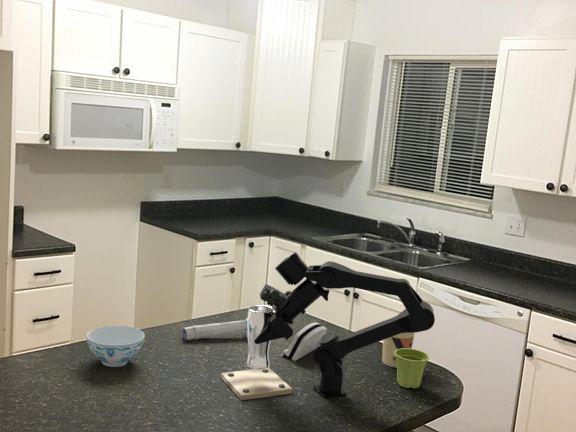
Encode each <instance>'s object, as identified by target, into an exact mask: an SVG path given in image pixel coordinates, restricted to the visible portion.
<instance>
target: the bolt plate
mask: <svg viewBox="0 0 576 432" xmlns="http://www.w3.org/2000/svg"><path fill="white" fill-rule="evenodd" d="M220 378H221V380H222V381H223V382H224V383H225V384H226V385H227V386H228V388H230V389H231V390H232V392H233V393H234V394H235V395H236V396H237V397H238V398H239V399H240V400H241V401H247V400H253V399H260V398H266V397H268V398H269V397H275V396H282V395H289V394H293V388H292V386H290V385H289V384H288V383H287V382H285V381H284V380H283V378H281V377H280V376H279V375H278V374H277V373H275V371H274V370H272V369H271V368H270V367H268V368H266V369H253V368H251V369H244V370H236V371H228V372H221V373H220Z"/></svg>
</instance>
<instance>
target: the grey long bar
mask: <svg viewBox="0 0 576 432" xmlns="http://www.w3.org/2000/svg"><path fill="white" fill-rule="evenodd" d="M247 319H248V317H247V318H245V319H243V320H235V321H224V322H216V323H206V324H199V325H195V324H193V325H192V326H186V327H182V328H181V335H182V339H183V340H184V341H185V342H186V341H193V340H195V341H197V340H198V339H204V338H209V337H215V336H219V335H224V334H230V333H235V332H240V331H242V333H243V337H245V338H247V339H248V336H247Z"/></svg>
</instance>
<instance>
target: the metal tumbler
mask: <svg viewBox="0 0 576 432" xmlns="http://www.w3.org/2000/svg"><path fill="white" fill-rule="evenodd" d="M273 314H274V308H272V307H270V305H267V306H266V304H265V305H264V304H257V305H255V304H254V305H250V306H249V307H248V312H247V318H248V319H247V336H248V338H247V344H248V356H247V360H246V366H247V367H249V368H250V369H266V368H270V367H271V359H270V348H271V345H272V341H273V340H270V341H267V342H263V343H260V344H256V343H255V342H254V340H255V339H256V338H257V337H258V335H259V334H260V333H261V332H262V331H263V330H264V328H265V327H266V326H267V322H268V317H269V318H271V316H272V315H273Z"/></svg>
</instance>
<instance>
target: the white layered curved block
mask: <svg viewBox="0 0 576 432" xmlns="http://www.w3.org/2000/svg"><path fill="white" fill-rule="evenodd" d="M327 332H328V328H326V326H323V325H322V324H321V323H318V322H315V321H314V322H311V323H310V324H307V325H305V326H304V327H303V328H302V329H300V330H299V331H298V332H296V334H295V335H294V337H293V338H292V341H291V343H290V345H289V346H288V348H287V349H284V350H283V351H282V352H281V355H280V357H281V358H282V357H284V356H287V357H291V360H292V361H295V362H296V361H298V360H300V359H301V358H303V357H304V356H306V355H308V354H310V353H311V352H314V351H315V348H316V345H317V343H318V341H319V340H320V339H322V336H323V335H327Z"/></svg>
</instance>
